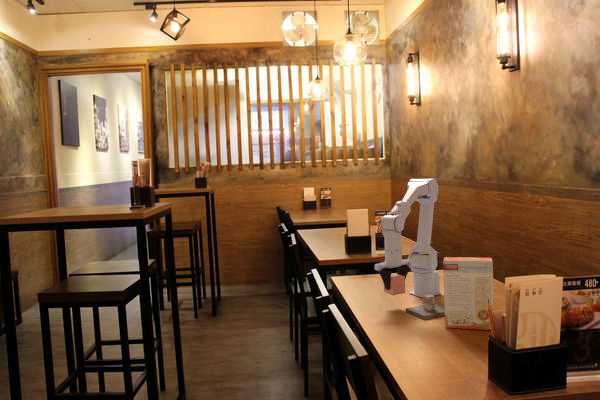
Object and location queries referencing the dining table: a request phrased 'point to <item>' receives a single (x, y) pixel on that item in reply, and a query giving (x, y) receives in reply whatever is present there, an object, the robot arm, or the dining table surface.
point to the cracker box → (468, 292)
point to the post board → (425, 312)
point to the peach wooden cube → (396, 285)
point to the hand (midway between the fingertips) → (394, 288)
